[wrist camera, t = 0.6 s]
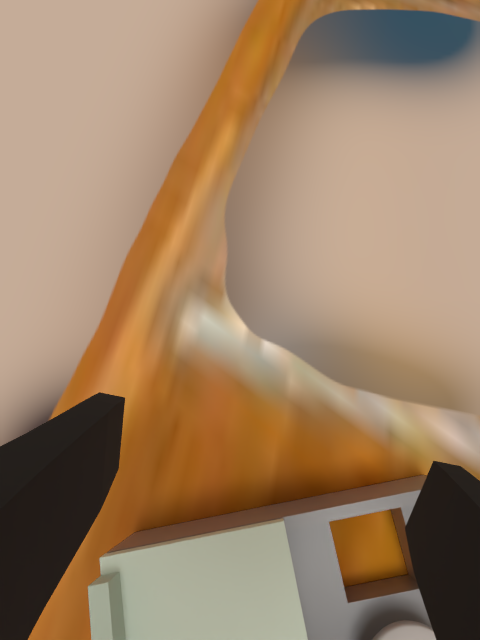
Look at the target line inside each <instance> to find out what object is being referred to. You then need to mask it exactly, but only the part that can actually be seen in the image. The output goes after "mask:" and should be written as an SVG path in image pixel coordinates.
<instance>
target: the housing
mask: <svg viewBox="0 0 480 640" xmlns="http://www.w3.org/2000/svg"><path fill="white" fill-rule="evenodd" d="M426 478H427V476H426V475H419V476H414V477H409V478H404V479H399V480H394V481H389V482H384V483H379V484H374V485H369V486H364V487H359V488H354V489H349V490H344V491H339V492H334V493H329V494H324V495H319V496H314V497H309V498H304V499H299V500H294V501H289V502H284V503H279V504H274V505H269V506H264V507H259V508H254V509H249V510H244V511H239V512H234V513H229V514H224V515H219V516H214V517H209V518H204V519H199V520H194V521H189V522H184V523H179V524H174V525H169V526H164V527H159V528H154V529H149V530H144V531H139V532H134V533H133V534H132V535H130V536H129V537H128V538H126V539H125V540H123V541H122V542H121V543H119V544H118V545H117V546H115V547H114V548H112V549H111V550H110V551H108V552H107V553H111V552H116V551H121V550H126V549H131V548H136V547H141V546H146V545H151V544H156V543H161V542H166V541H171V540H176V539H181V538H186V537H191V536H196V535H201V534H206V533H211V532H216V531H221V530H226V529H231V528H236V527H241V526H246V525H251V524H256V523H261V522H266V521H271V520H276V519H281V518H283V519H284V524H285V529H286V534H287V539H288V544H289V548H290V553H291V558H292V563H293V568H294V573H295V578H296V583H297V588H298V593H299V598H300V603H301V608H302V613H303V618H304V623H305V628H306V633H307V638H308V640H436V638H435V635H434V632H433V629H432V626H431V623H430V620H429V617H428V614H427V611H426V608H425V605H424V602H423V599H422V596H421V593H420V590H419V587H418V584H417V581H416V578H415V575H414V570H413V566H412V562H411V557H410V553H409V547H408V542H407V537H406V532H405V526H406V524H407V522H408V519H409V517H410V515H411V512H412V510H413V508H414V505H415V503H416V501H417V498H418V496H419V494H420V491H421V489H422V487H423V484H424V482H425V480H426ZM390 509H391V512H392V516H393V520H394V523H395V527H396V531H397V534H398V538H399V542H400V545H401V549H402V553H403V556H404V560H405V563H406V567H407V571H408V575H403V576H398V577H393V578H388V579H383V580H378V581H373V582H368V583H363V584H358V585H353V586H348V587H344V585H343V580H342V576H341V572H340V567H339V563H338V559H337V554H336V550H335V546H334V541H333V537H332V533H331V528H330V524H329V522H330V521H335V520H340V519H345V518H350V517H355V516H360V515H365V514H370V513H375V512H380V511H385V510H390Z"/></svg>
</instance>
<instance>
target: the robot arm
mask: <svg viewBox="0 0 480 640" xmlns="http://www.w3.org/2000/svg"><path fill="white" fill-rule="evenodd" d="M124 403H125V398H124V397H119V396H114V395H109V394H104V393H98V394H96V395H94V396H92V397H90V398H88V399H86V400H85V401H83V402H81V403H79V404H78V405H76V406H74V407H72V408H71V409H69V410H67V411H65V412H64V413H62V414H60V415H58V416H57V417H55V418H53V419H51V420H49V421H48V422H46V423H44V424H42V425H40V426H39V427H37V428H35V429H33V430H31V431H30V432H28V433H26V434H24V435H22V436H20V437H18V438H16V439H14V440H12V441H10V442H8V443H6V444H4V445H2V446H0V640H28V638H29V635H30V634H31V632H32V630H33V628H34V626H35V624H36V622H37V620H38V619H39V617H40V615H41V613H42V611H43V609H44V607H45V606H46V604H47V602H48V601H49V599H50V597H51V595H52V594H53V592H54V590H55V588H56V587H57V585H58V583H59V582H60V580H61V578H62V576H63V575H64V573H65V571H66V569H67V568H68V566H69V564H70V562H71V561H72V559H73V557H74V556H75V554H76V552H77V550H78V549H79V547H80V545H81V543H82V542H83V540H84V538H85V536H86V535H87V533H88V531H89V529H90V528H91V526H92V524H93V522H94V521H95V519H96V517H97V515H98V514H99V512H100V510H101V508H102V506H103V503H104V501H105V499H106V497H107V494H108V492H109V490H110V487H111V485H112V483H113V480H114V478H115V476H116V473H117V471H118V468H119V458H120V447H121V436H122V425H123V414H124ZM405 532H406V537H407V542H408V547H409V553H410V557H411V562H412V566H413V570H414V575H415V578H416V581H417V584H418V587H419V590H420V593H421V596H422V599H423V602H424V605H425V608H426V611H427V614H428V617H429V620H430V623H431V626H432V629H433V632H434V635H435V638H436V640H480V481H479V480H478V479H476V478H475V477H474V476H473V475H471V474H470V473H469V472H467V471H466V470H465V469H463V468H462V467H461V466H457V465H452V464H447V463H442V462H437V461H433V464H432V466H431V468H430V471H429V473H428V475H427V478H426V480H425V482H424V484H423V487H422V489H421V491H420V494H419V496H418V498H417V501H416V503H415V505H414V508H413V510H412V512H411V515H410V517H409V519H408V522H407V524H406V526H405Z"/></svg>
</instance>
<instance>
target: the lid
mask: <svg viewBox="0 0 480 640" xmlns="http://www.w3.org/2000/svg"><path fill="white" fill-rule="evenodd" d="M100 570H101V576H100V577H98V578H97V579H96V580H95V581H94V582H93V583H91V584H90V585H89V586H88V596H89V610H90V625H91V639H92V640H308V638H307V633H306V628H305V623H304V618H303V613H302V608H301V603H300V598H299V593H298V588H297V583H296V578H295V573H294V568H293V563H292V558H291V553H290V548H289V544H288V539H287V534H286V529H285V524H284V519H283V518H281V519H276V520H271V521H266V522H261V523H256V524H251V525H246V526H241V527H236V528H231V529H226V530H221V531H216V532H211V533H206V534H201V535H196V536H191V537H186V538H181V539H176V540H171V541H166V542H161V543H156V544H151V545H146V546H141V547H136V548H131V549H126V550H121V551H116V552H111V553H106V554H104V555H103V556H101V557H100Z"/></svg>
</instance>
